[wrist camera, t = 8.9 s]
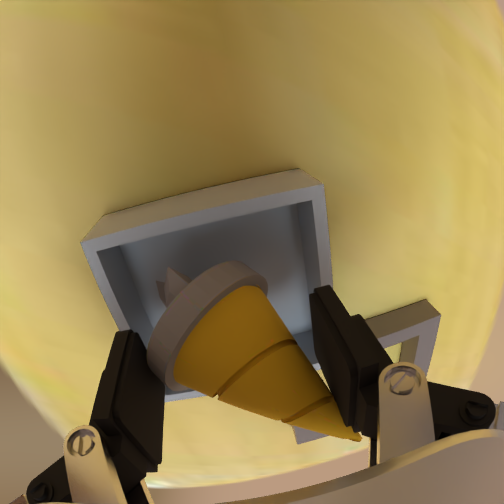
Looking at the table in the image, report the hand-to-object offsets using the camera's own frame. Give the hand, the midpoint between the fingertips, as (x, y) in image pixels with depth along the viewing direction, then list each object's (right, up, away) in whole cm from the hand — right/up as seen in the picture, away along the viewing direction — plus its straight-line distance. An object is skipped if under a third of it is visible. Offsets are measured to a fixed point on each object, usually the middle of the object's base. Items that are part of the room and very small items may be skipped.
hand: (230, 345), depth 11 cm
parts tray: (-1, +2, +5) cm, 5 cm away
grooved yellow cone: (0, +2, +3) cm, 3 cm away
